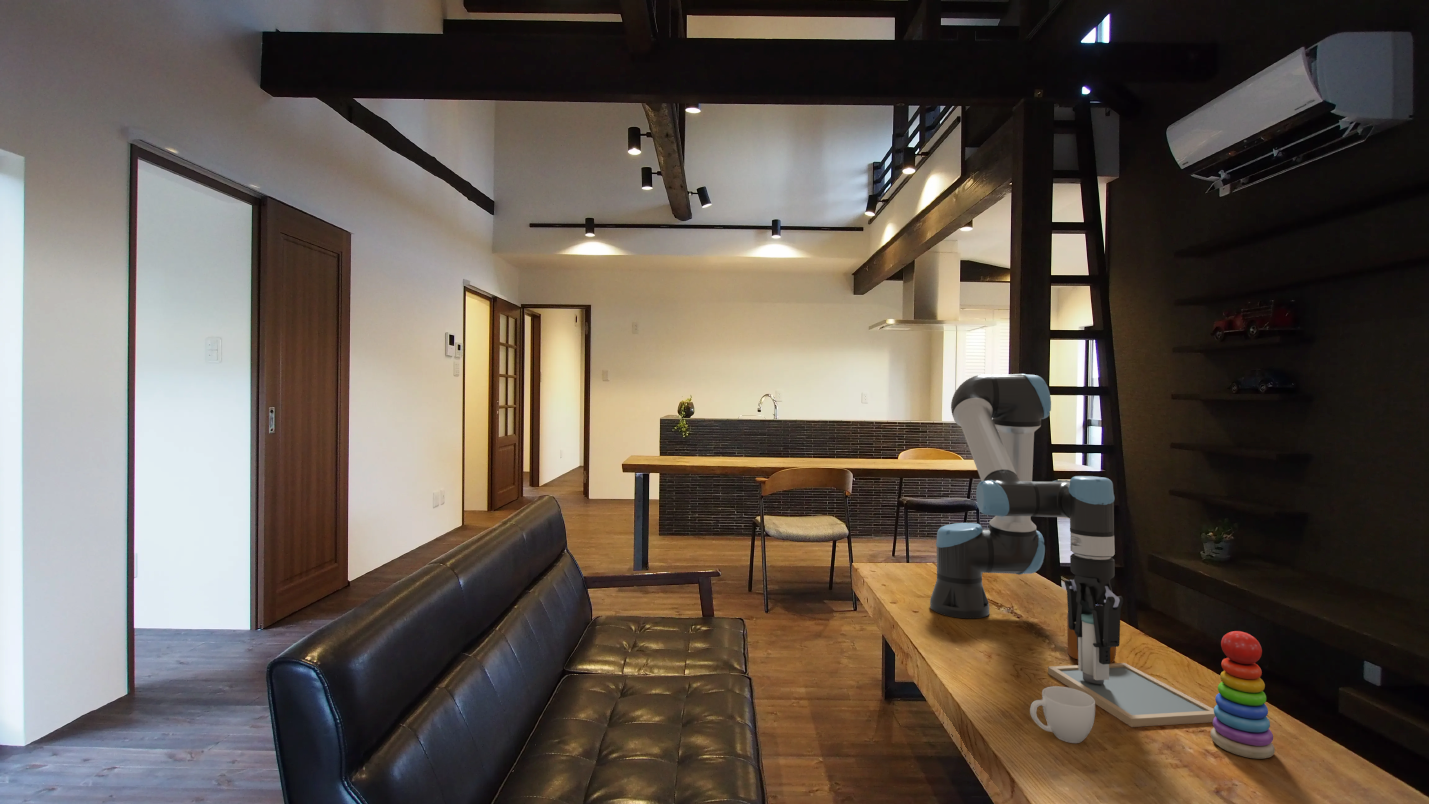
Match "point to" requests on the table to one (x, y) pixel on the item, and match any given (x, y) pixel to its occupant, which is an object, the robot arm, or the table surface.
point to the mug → (1073, 644)
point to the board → (1136, 697)
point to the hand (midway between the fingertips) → (1093, 674)
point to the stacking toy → (1242, 700)
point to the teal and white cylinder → (1088, 648)
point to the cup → (1065, 713)
